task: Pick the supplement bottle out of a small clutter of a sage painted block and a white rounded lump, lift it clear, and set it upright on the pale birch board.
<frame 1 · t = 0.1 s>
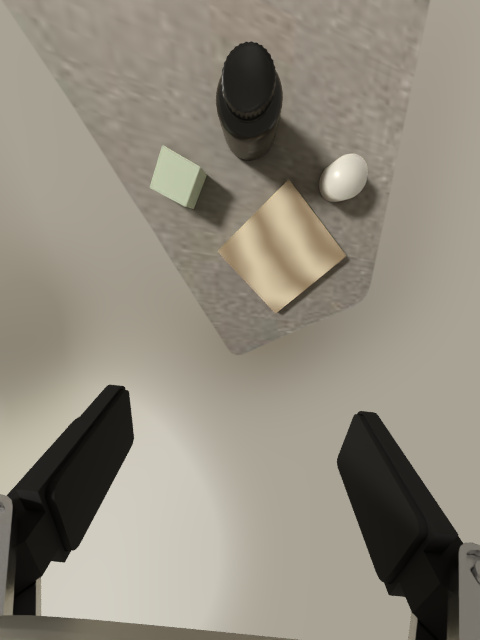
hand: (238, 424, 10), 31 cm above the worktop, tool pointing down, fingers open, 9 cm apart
birch board: (280, 252, 37), on the worktop
supplement bottle: (249, 131, 31), on the worktop
white rounded lump: (336, 182, 33), on the worktop
sage block: (184, 183, 34), on the worktop
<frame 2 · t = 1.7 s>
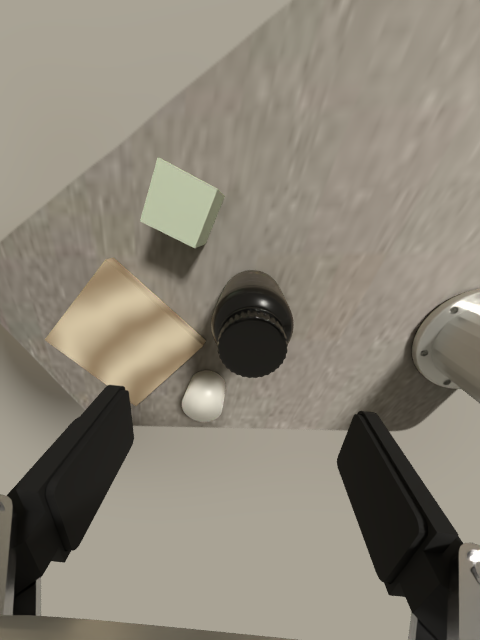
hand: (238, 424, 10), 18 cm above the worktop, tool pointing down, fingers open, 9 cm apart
birch board: (128, 337, 29), on the worktop
supplement bottle: (252, 297, 27), on the worktop
white rounded lump: (208, 385, 32), on the worktop
sage block: (192, 209, 23), on the worktop
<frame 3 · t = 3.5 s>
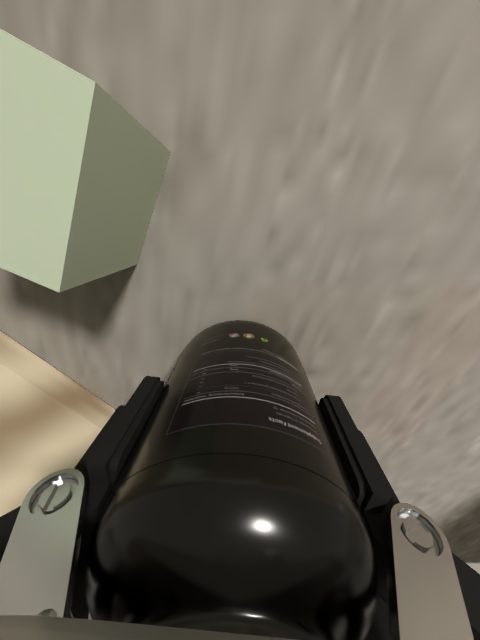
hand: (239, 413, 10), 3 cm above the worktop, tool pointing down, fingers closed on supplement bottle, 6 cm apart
birch board: (14, 432, 16), on the worktop
supplement bottle: (240, 368, 13), on the worktop, touching gripper
sage block: (97, 185, 10), on the worktop
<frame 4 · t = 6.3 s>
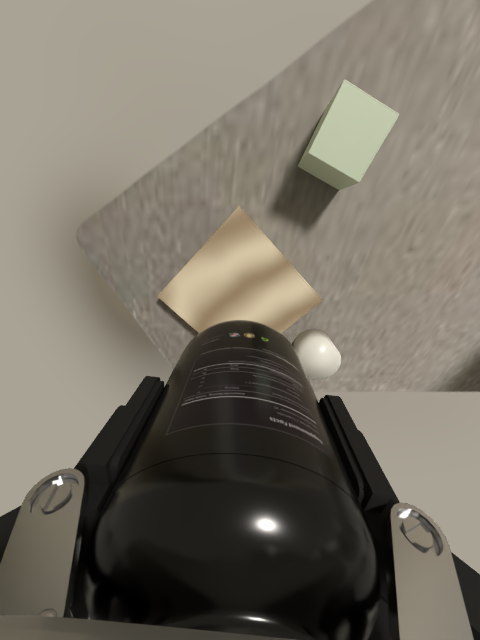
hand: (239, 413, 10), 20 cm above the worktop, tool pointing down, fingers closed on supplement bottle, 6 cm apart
birch board: (239, 294, 29), on the worktop
supplement bottle: (241, 368, 13), point 17 cm above the worktop, touching gripper
white rounded lump: (311, 345, 31), on the worktop
sage block: (332, 152, 23), on the worktop
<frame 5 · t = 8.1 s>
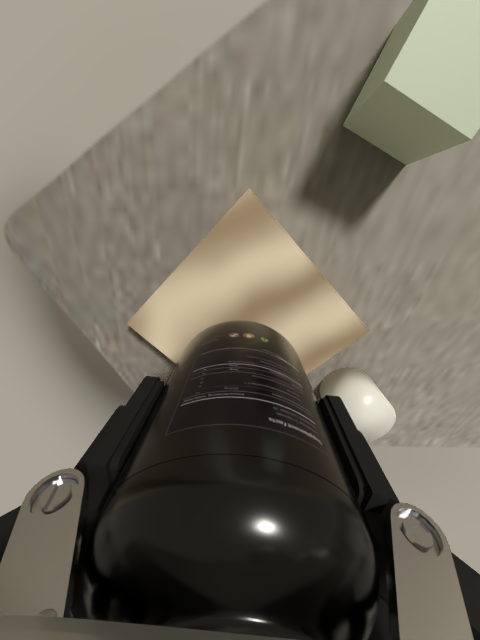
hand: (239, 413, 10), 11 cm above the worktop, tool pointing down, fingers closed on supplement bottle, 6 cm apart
birch board: (246, 320, 20), on the worktop
supplement bottle: (240, 368, 13), point 7 cm above the worktop, touching gripper
white rounded lump: (345, 388, 23), on the worktop
sage block: (400, 101, 14), on the worktop
when the fingers open (6 cm above the worktop, at t = 9.5 s): supplement bottle drops 1 cm, resting on birch board.
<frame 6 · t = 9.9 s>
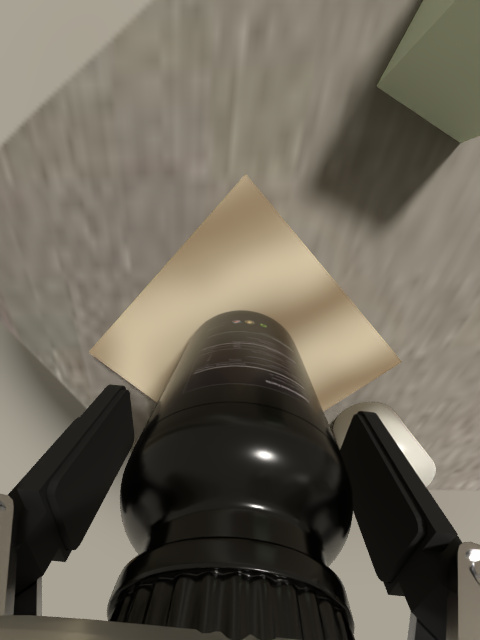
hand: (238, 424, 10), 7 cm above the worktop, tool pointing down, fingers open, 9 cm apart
birch board: (242, 345, 16), on the worktop
supplement bottle: (242, 355, 15), point 1 cm above the worktop, touching birch board
white rounded lump: (364, 425, 18), on the worktop
sage block: (459, 50, 10), on the worktop
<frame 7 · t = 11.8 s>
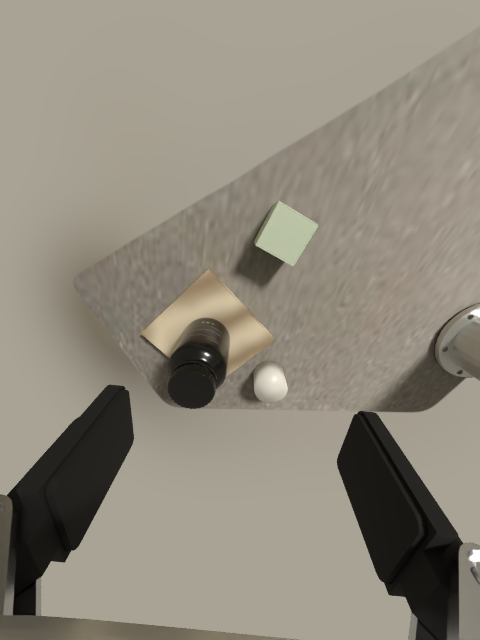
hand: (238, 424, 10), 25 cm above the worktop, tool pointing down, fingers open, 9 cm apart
birch board: (208, 332, 35), on the worktop
supplement bottle: (207, 336, 34), point 1 cm above the worktop, touching birch board
white rounded lump: (268, 373, 38), on the worktop
sage block: (279, 233, 30), on the worktop
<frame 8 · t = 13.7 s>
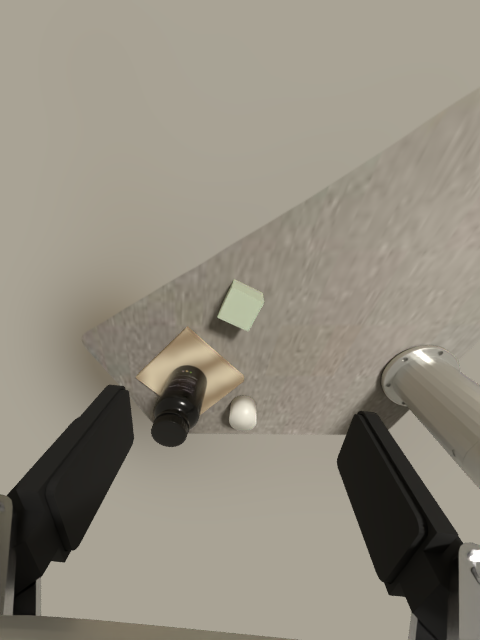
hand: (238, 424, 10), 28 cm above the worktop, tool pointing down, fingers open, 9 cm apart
birch board: (191, 374, 43), on the worktop
supplement bottle: (189, 378, 42), point 1 cm above the worktop, touching birch board
white rounded lump: (243, 405, 46), on the worktop
sage block: (241, 299, 37), on the worktop
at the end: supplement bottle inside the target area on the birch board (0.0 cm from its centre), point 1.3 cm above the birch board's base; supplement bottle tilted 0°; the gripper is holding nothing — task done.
